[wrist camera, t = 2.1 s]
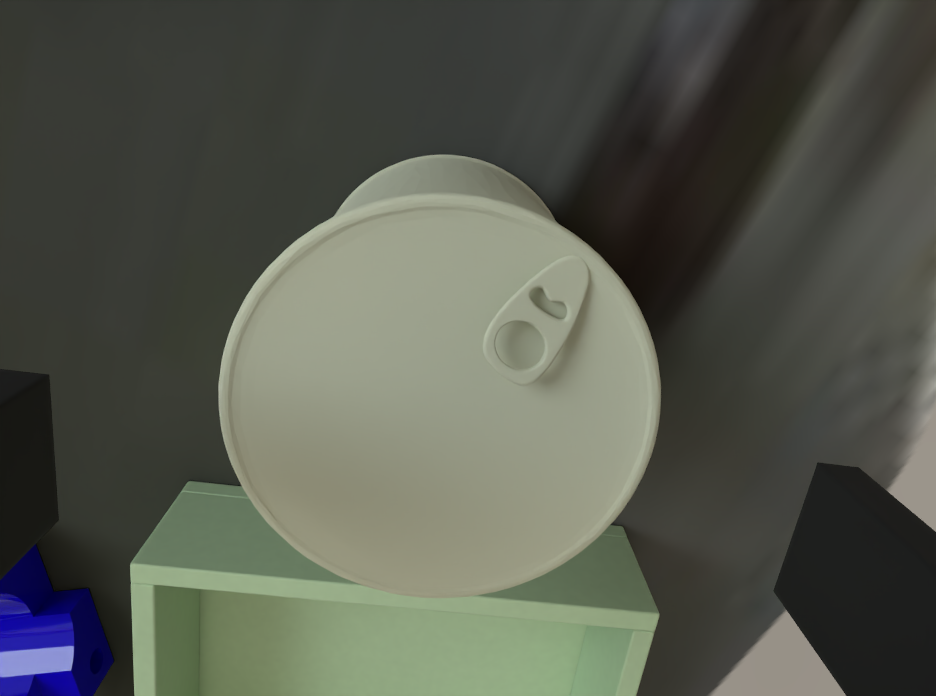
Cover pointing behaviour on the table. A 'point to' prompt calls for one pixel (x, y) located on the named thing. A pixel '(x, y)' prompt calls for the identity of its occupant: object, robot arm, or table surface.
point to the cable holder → (48, 636)
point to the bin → (369, 619)
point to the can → (440, 386)
